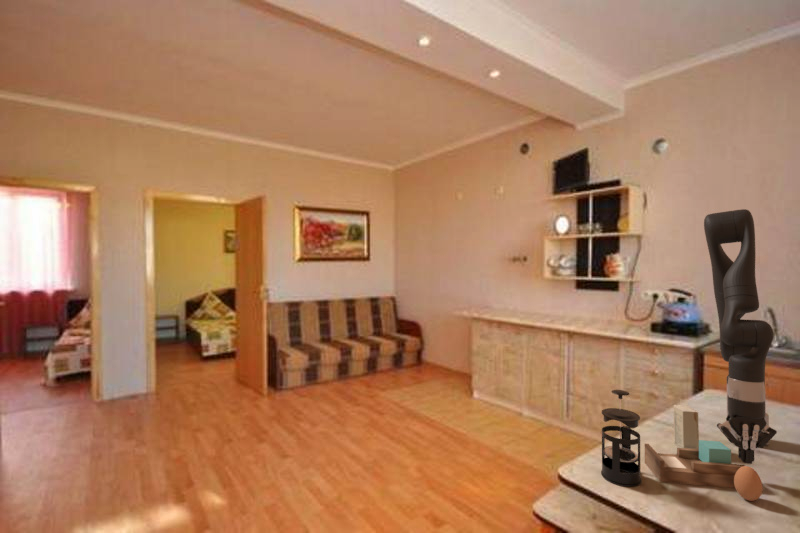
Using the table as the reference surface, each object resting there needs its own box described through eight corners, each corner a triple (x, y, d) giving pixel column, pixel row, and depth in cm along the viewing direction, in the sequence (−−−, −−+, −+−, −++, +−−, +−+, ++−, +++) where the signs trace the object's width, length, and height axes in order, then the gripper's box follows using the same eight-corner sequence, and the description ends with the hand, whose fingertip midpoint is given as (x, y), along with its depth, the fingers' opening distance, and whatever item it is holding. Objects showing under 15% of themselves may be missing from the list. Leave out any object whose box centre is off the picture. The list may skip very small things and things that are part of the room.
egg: (728, 494, 99) (728, 461, 99) (747, 492, 99) (747, 460, 99) (748, 506, 94) (748, 472, 94) (768, 505, 94) (768, 471, 94)
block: (719, 459, 109) (719, 441, 109) (731, 469, 104) (731, 449, 104) (698, 458, 110) (698, 440, 109) (709, 467, 105) (709, 448, 105)
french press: (635, 492, 100) (635, 400, 100) (595, 479, 106) (594, 392, 106) (646, 474, 108) (646, 388, 108) (608, 462, 115) (608, 382, 115)
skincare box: (699, 453, 120) (699, 412, 119) (683, 452, 120) (683, 411, 120) (688, 443, 126) (688, 404, 126) (673, 442, 127) (673, 404, 127)
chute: (724, 468, 111) (724, 449, 111) (748, 489, 101) (748, 467, 101) (644, 462, 114) (644, 443, 114) (660, 481, 105) (660, 460, 105)
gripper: (765, 392, 107) (765, 457, 108) (709, 390, 110) (709, 453, 110) (786, 402, 100) (786, 471, 100) (726, 399, 103) (726, 467, 103)
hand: (746, 462), depth 105 cm, fingers closed
